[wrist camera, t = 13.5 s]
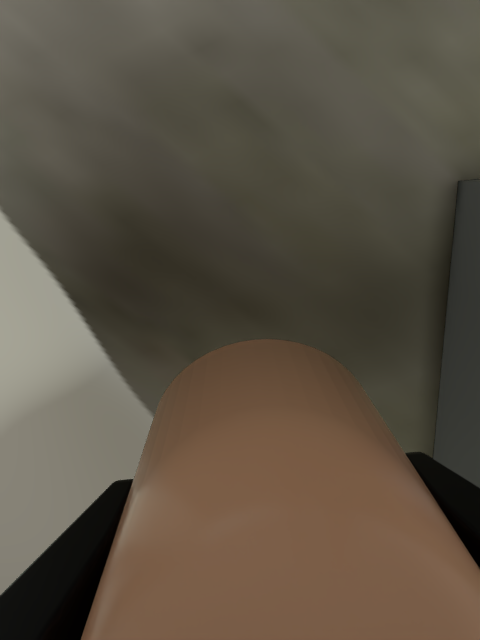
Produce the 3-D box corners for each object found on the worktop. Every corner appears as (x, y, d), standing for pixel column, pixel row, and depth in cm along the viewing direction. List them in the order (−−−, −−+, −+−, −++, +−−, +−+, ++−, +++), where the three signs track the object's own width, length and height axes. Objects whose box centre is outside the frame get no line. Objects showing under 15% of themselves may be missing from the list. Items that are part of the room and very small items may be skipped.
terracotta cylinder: (371, 515, 9) (704, 1293, 3) (171, 534, 9) (34, 1340, 3) (376, 327, 8) (1253, 1185, 1) (131, 351, 8) (-431, 1307, 1)
